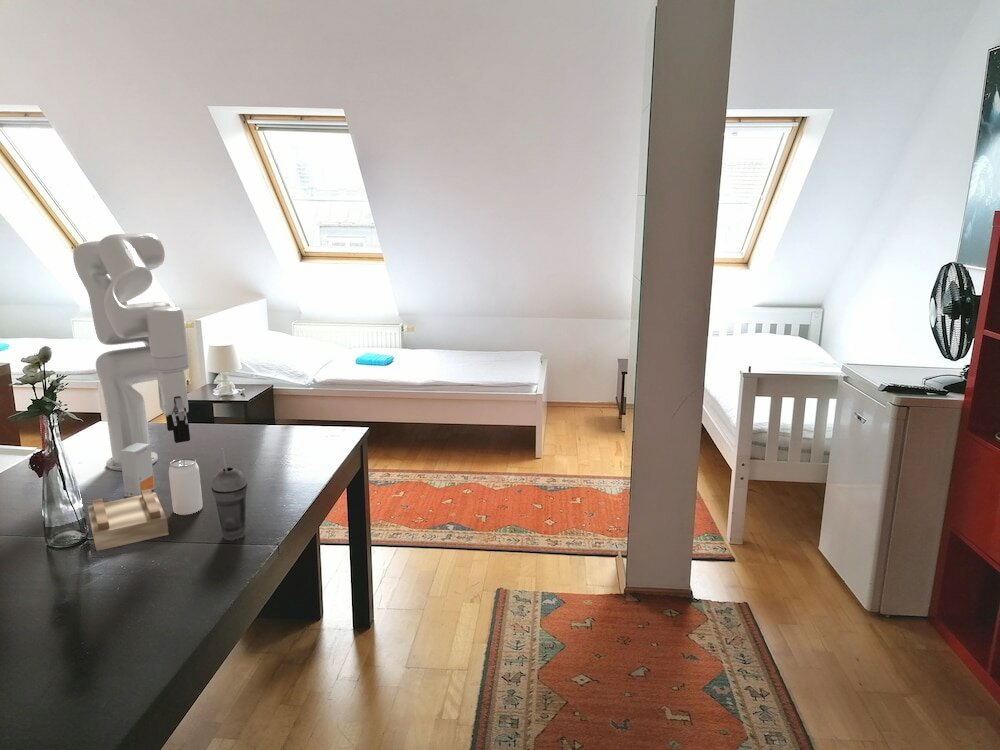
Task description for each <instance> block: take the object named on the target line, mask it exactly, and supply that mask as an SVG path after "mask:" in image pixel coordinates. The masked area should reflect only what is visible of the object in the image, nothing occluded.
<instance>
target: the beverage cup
mask: <svg viewBox="0 0 1000 750" xmlns="http://www.w3.org/2000/svg"><path fill="white" fill-rule="evenodd" d="M220 450H221V455H222V460H223V467H224V468H222V469H220V470H219V471H217V472H216V474H214V477H213V480H212V483H211V491H212V495H213V497H214V500H215V503H216V504H215V505H216V509H217V514H218V517H219V518H218V520H219V524H220V529H221V530H220V531H221V533H222V537H224V538H223V539H224V540H225V541H235V539H237V540H239V538H240V539H242V538H244V537H245V536H244V535H246V525H247V524H246V520H247V519H246V518H247V517H246V513H247V510H246V507H247V505H246V504H247V503H246V500H247V499H246V498H247V497H246V496H247V495H246V494H247V490H248V482H247V479H246V477H245V475H244V474H243V472H242V471H241V470H239V469H238V468H234V467H228V466H227V460H226V455H225V448H224V447H221V448H220ZM243 536H244V537H243ZM241 537H242V538H241Z"/></svg>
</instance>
